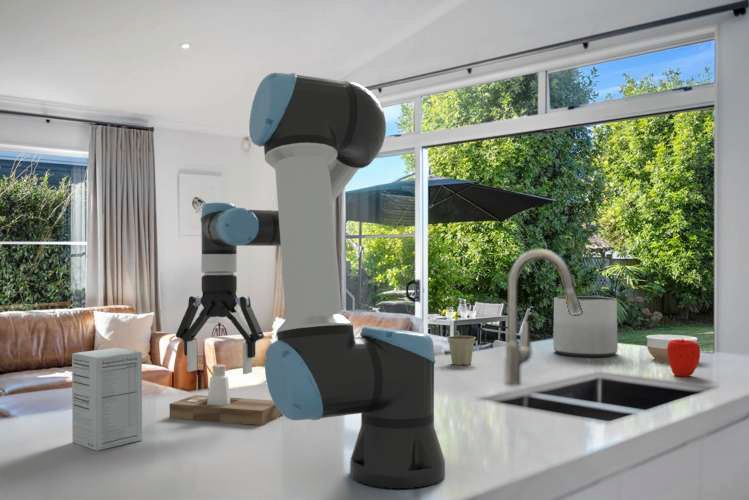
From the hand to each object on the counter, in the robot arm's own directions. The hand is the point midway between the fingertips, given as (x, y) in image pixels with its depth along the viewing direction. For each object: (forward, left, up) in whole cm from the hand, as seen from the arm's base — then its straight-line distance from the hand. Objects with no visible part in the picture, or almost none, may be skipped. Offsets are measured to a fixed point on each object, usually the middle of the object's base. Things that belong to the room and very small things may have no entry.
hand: (219, 372), depth 150 cm
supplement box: (-25, +9, -10) cm, 28 cm away
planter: (+127, -75, -10) cm, 148 cm away
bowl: (+119, -103, -10) cm, 158 cm away
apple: (+87, -103, -10) cm, 135 cm away
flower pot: (+89, -37, -10) cm, 97 cm away
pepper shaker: (0, 0, -10) cm, 10 cm away
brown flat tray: (0, -2, -10) cm, 10 cm away
